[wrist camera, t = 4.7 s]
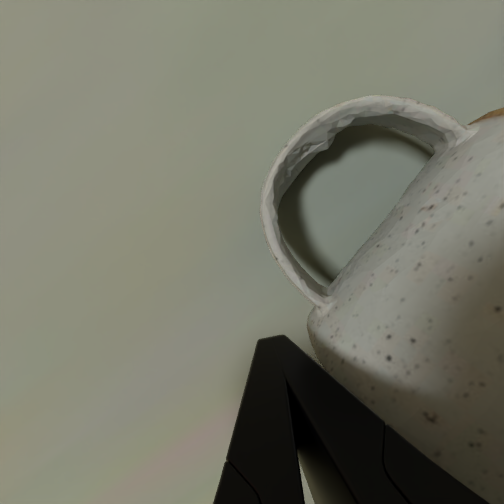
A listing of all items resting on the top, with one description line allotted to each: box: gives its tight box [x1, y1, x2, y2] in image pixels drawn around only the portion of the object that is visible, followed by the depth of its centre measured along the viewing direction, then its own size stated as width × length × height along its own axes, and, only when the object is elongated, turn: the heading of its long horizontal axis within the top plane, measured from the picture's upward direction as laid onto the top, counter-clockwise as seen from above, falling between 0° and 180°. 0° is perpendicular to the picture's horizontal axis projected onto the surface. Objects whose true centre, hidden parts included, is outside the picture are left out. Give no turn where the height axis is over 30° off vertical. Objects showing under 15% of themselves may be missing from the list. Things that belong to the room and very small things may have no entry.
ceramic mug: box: [260, 95, 504, 504], centre depth 7 cm, size 11×8×8 cm
